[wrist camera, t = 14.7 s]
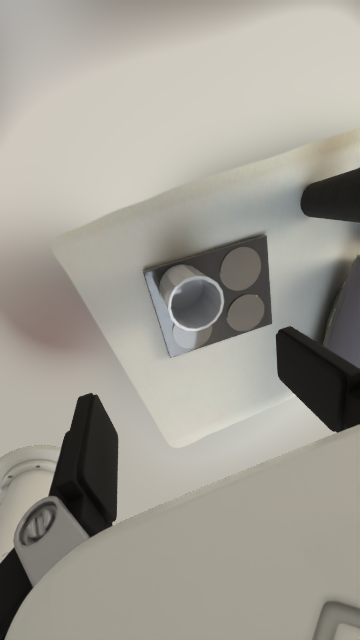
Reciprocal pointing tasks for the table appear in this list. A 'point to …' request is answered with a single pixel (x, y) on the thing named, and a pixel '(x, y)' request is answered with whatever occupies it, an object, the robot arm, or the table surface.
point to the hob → (238, 290)
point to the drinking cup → (334, 198)
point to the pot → (191, 297)
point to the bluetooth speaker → (346, 319)
